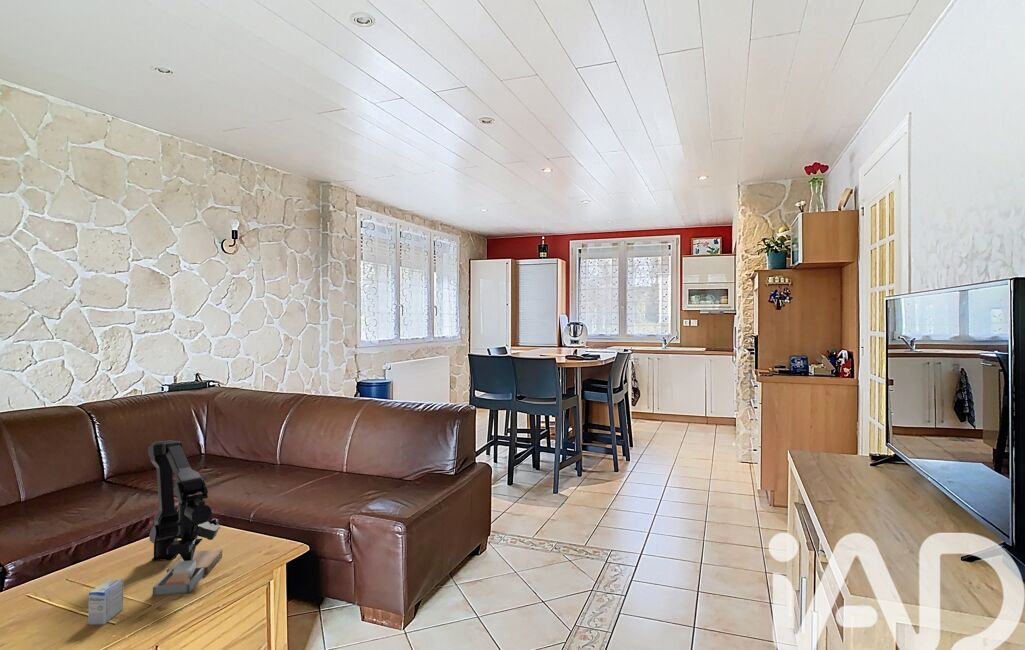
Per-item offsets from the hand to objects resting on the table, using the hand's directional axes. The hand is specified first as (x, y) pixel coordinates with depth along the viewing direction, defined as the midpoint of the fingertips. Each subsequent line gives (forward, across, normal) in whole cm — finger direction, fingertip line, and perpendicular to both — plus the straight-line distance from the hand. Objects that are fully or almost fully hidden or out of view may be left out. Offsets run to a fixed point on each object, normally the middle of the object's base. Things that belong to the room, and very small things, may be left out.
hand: (188, 565), depth 178 cm
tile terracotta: (+3, -8, 0) cm, 9 cm away
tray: (+3, -7, 0) cm, 8 cm away
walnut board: (+3, +6, 0) cm, 7 cm away
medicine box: (+3, -24, +12) cm, 27 cm away
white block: (+1, -3, 0) cm, 3 cm away
